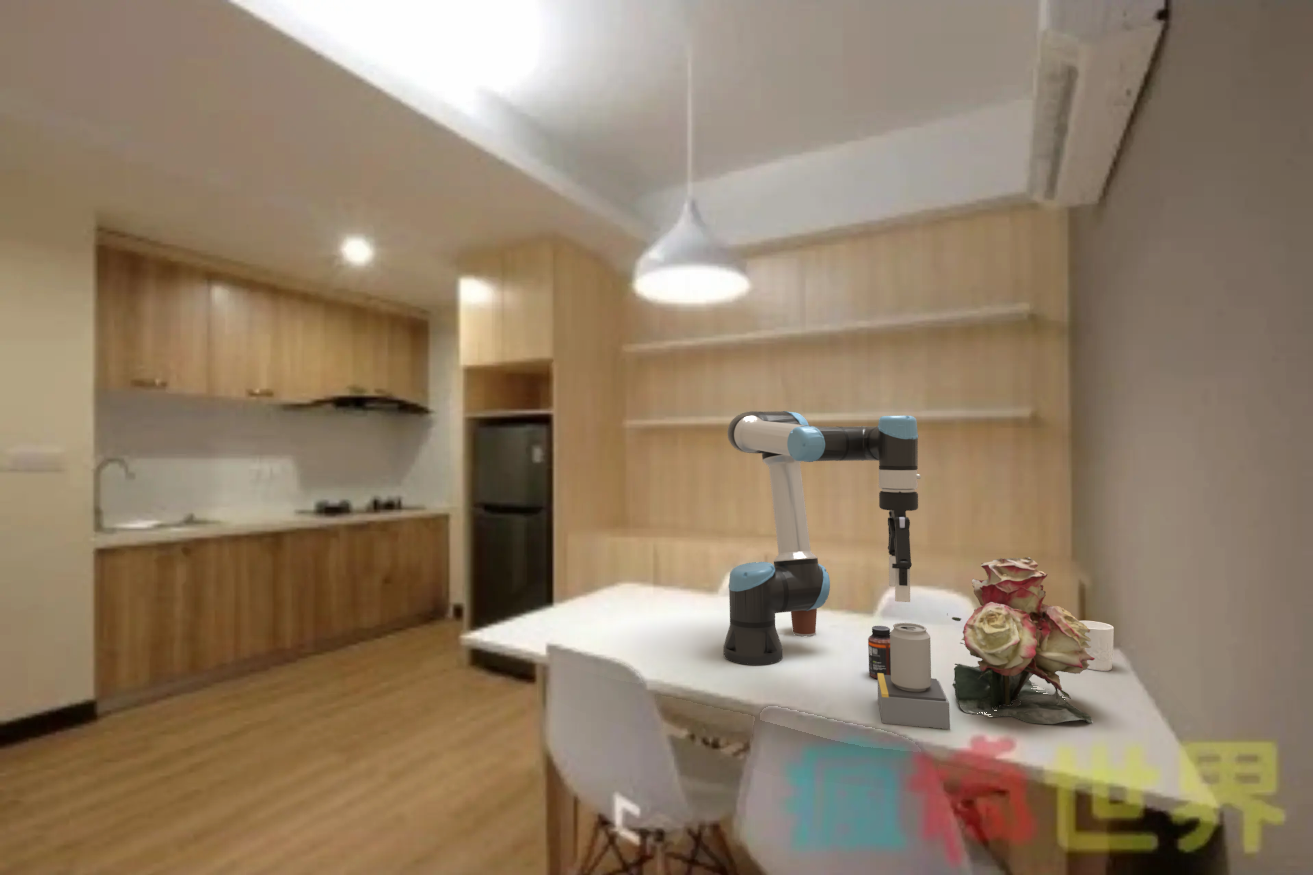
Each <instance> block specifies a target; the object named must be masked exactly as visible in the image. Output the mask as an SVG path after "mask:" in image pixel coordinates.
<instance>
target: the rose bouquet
mask: <svg viewBox="0 0 1313 875" xmlns="http://www.w3.org/2000/svg"><path fill="white" fill-rule="evenodd" d="M999 557H1000V558H997V559H993V560H992V561H987V562H981V564H980V567H981V568H983V569H984V571H985V573H986V575H987V579H984V580H982V579H976V578H974V577H973V578H972V580H971V583H972V587H973V594H974V595H975V597H976V598H977V601H978V603H979V605H980V606H978V607H977V608H975V609H974V610H973V613H972V614H971V616H970V617H969V618H968V620H967V621H966V622H965V624H964V627H963V630H962V634H963V637H962V639H961V641H964V643H963V642H960V645H961V644H962V645H964V646H965V648H966V649H967V650H968V651H969V654H970V656H971V657H972V656H973V657H976V658H978V659H981V660H977V664H978V665H976V666H971V665H967V664H962V663H954V665H956V666H955V667H954V668H953V672H954V673H953V674H954V679H953V683H952V686H953V689H954V696H955V700H956V703H957V704H958V705H959V707H960V709H961V710H962V711H963V712H964V713H966V714H972V715H977V713H978V714H982V713H981V712H983V714H984V712H985V713H986V712H987V713H986V714H991V715H989V716H993V717H989V718H988V719H991V718H997V717H1012V718H1015V719H1018V720H1021V721H1023V722H1025V723H1029V724H1038V725H1039V724H1042V725H1054V724H1059V723H1063V722H1069V721H1070V722H1071V721H1079V720H1083V721H1084V722H1086V723H1089V724H1093V718H1092V716H1091V715H1090V714H1088V713H1086V712H1083V711H1082V710H1080V709H1079V708H1077V707H1075V706H1074V705H1072V704H1071V703H1069V702H1068V701H1067V700H1066V698H1067V699H1069V700H1072V697H1071V696H1070V694H1069V693H1068V692H1066V691H1065V690H1063V688H1062V685H1061V680H1060V675H1059V674H1057V672H1062V673H1068V674H1075V675H1076V674H1079V675H1080V674H1081V673H1082V672H1084V671H1085V670H1088V669H1087V667H1088V666H1089V664H1088V663H1087V660H1094V659H1095V658H1093V657H1091V656H1090V655H1089V654H1087V652H1086V649H1085V648H1091V646H1089V645H1088V644H1087V643H1086V642H1085V641H1091V639H1090V638H1089V637H1087V636H1085V635H1084V634H1085V633H1086V632H1088V633H1089V632H1090V629H1088V628H1087V626H1085V625H1084V624H1083V623H1082V622H1079V621H1080V620H1078V619H1077V618H1076V617H1075V616H1074V615H1073V614H1072V613H1071V612H1070V611H1068V610H1066V609H1065V608H1063V607H1062V606H1059V605H1051V604H1049V605H1048V604H1044V603H1043V601H1044V599H1045V597H1046V591H1045V590H1044V585H1043V584H1042V583H1043V581H1044V580H1045V579H1046V578H1047V577H1048V573H1045V572H1044V571H1042V570H1038V569H1037V568H1038V566H1039V564H1038V562H1036V560H1033V559H1032V558H1031V557H1030V556H1029V557H1028V556H1027V557H1023V559H1022V558H1021V557H1009V558H1003V557H1002V558H1001V555H999ZM946 616H949V615H948V613H946ZM951 620H953V621H955V622H961V620H962V618H961V617H956V616H952V617H951ZM1033 675H1034V676H1037V677H1038V678H1040V679H1042V680H1044V681H1045V682H1046V683H1047V684H1048V685H1049V684H1051V685H1052V686H1053V688H1054V690H1055V691H1054V694H1043V693H1046V692H1048V690H1046V689H1045V690H1036V689H1033V690H1032V689H1031V688H1037V687H1033V686H1039V685H1038V684H1036V685H1035V682H1032V680H1030V679H1031V678H1032V676H1033ZM1036 691H1038V692H1036ZM1045 691H1046V692H1045ZM1059 692H1060V693H1061V696H1060V694H1059ZM1062 696H1063V697H1066V698H1062ZM1064 699H1065V700H1064ZM1015 701H1019V704H1017V705H1014V702H1015ZM1020 701H1021V702H1020ZM1013 705H1014V706H1013ZM994 710H997V711H994ZM979 712H980V713H979Z"/></svg>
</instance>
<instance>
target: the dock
mask: <svg viewBox="0 0 1313 875" xmlns="http://www.w3.org/2000/svg"><path fill="white" fill-rule="evenodd" d="M877 676H878V679H877V704H878V706H879V712H880V718H881V723H882V724H889V725H899V726H908V727H918V726H919V728H929V727H933V728H932V729H940V728H942V729H943V730H951V727H950V726H951V724H950V722H951V721H950V718H951V717H950V702H949V699H948V697H947V695H946V693H945V691H944V689H943V687H942V685H941V682H940V680H938V679H937V678H933V677H931V686H930V687H928V688H927V689H926V690H925V691H920V692H913V691H906V690H903V689H900V688H898V687H897V686H896V685H895V684H894V683H893V682H892V681H891V675H884V674H883V673H877ZM942 729H941V730H942Z"/></svg>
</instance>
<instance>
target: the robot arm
mask: <svg viewBox="0 0 1313 875" xmlns="http://www.w3.org/2000/svg"><path fill="white" fill-rule="evenodd" d="M918 432H919V431H918V422H917V418H916V417H914V416H913V415H884V416H880V417H879V419H878V425H877V426H865V425H864V426H863V425H862V426H854V425H853V426H837V425H836V426H829V425H827V426H825V425H824V426H822V425H819V426H818V425H811V424H809V423H808V420H807V419H806V418H805V417H804V416H803V415H802V414H800V413H798V412H795V411H794V412H793V411H787V410H786V411H785V410H783V411H757V410H756V411H752V410H751V411H746V412H742V413H740V414H738V415H736V416H734V418H732V419H731V421H730V422H729V424H728V427H727V431H726V433H727V435H726V436H727V439H728V441H729V444H730V445H731V446H732V447H733V448H734V449H736V450H737V451H739V452H741V453H747V454H761V458H762V459H761V460H762V462H763V464H764V465H766V466H767V467H768V470H769V480H770V489H771V498H772V508H773V516H774V517H773V518H774V525H775V534H776V536H775V537H776V544H777V553H778V554H777V556H776V557H775V558H774V559H773V563H771V562H767V561H759V562H757V561H754V562H747V563H743V564H740V565H736V566H735V567H733V568H732V569H731V570H730V573H729V583H728V591H729V627H728V630H727V634H726V637H725V639H724V640H725V641H724V643H723V657H724V658H725V659H726V660H728V661H731V662H733V663H737V664H742V665H749V666H751V665H752V666H762V665H771V664H774V663H778V662H780V661H781V660H782V659H783V658H784V657H783V655H784V653H783V645H782V643H781V639H780V636H779V634H778V630H777V627H776V614H781V613H789V612H790V613H791V612H792V611H808V610H811V609H817V610H818V609H819V608H821V607H822V606H824V604H826V601H827V600H828V598H829V595H830V590H831V580H830V575H829V573H828V571H827V569H826V567H825V566H824V565H822V564H820V563H819V559H818V556H817V555H815V553H813V552H812V549H811V541H810V534H809V526H808V525H809V524H808V518H807V509H806V502H805V501H806V500H805V493H804V492H805V491H804V484H803V475H802V469H801V468H802V467H801V464H802V462H805V463H813V462H834V461H835V462H838V461H839V462H841V461H842V462H844V461H849V462H850V461H851V462H853V461H865V462H866V461H870V462H871V461H877V462H878V488H879V489H881V490H880V491H879V492H878V498H879V500H878V501H879V502H878V507H879V509H881V510H883V511H889V512H888V517H887V527H888V528H887V530H888V546H887V550H888V587H894V601H895V602H899V603H900V602H901V603H911V568H912V565H913V564H912V557H911V554H912V553H911V541H910V538H911V537H910V535H911V534H910V527H911V521H910V518H909V517H908V516H907V513H906V512H907V511H909V512H911V511H913V512H914V511H916V510H918V509H919V493H918V491H915V490H917V489H918V488H919V487H918V486H919V484H918V480H920V479H921V477H922V475H921V474H918V466H919V464H918V462H919V461H918V458H919V456H918V455H919V454H918V450H919V445H918V444H919V442H918V440H919V439H918V438H919V434H918Z"/></svg>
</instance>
